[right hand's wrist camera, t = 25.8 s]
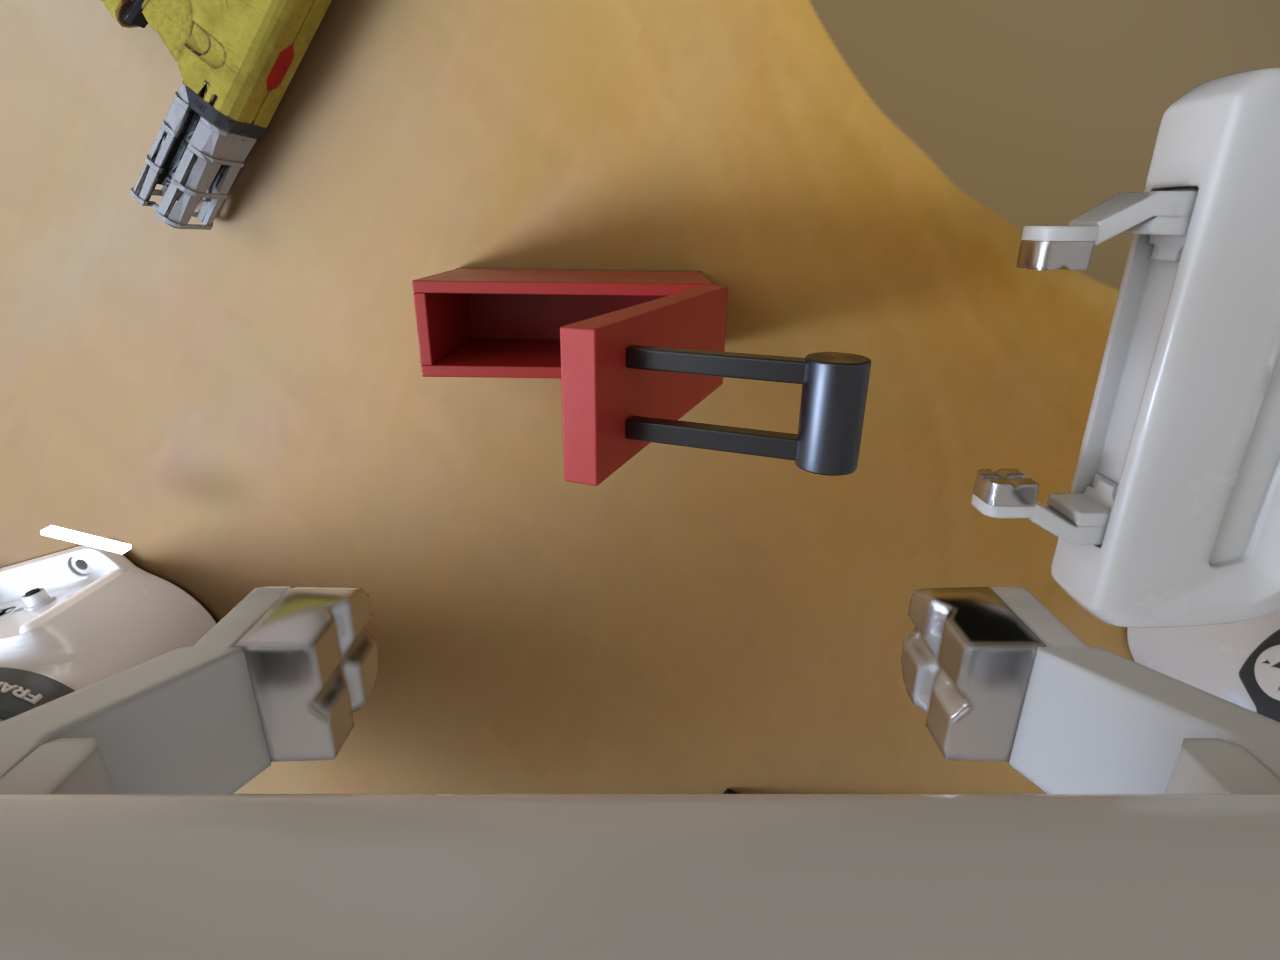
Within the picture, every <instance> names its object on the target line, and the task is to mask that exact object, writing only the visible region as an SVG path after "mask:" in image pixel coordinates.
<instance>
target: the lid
mask: <svg viewBox="0 0 1280 960" xmlns="http://www.w3.org/2000/svg"><path fill="white" fill-rule="evenodd" d="M727 295H728V286H716V285H705V286H701V287H698V288H694V289H691V290H687V291H684V292H680V293H677V294H673V295H670V296H666V297H663V298H659V299H656V300H652V301H649V302H645V303H642V304H638V305H635V306H631V307H628V308H624V309H621V310H617V311H614V312H610V313H607V314H603V315H600V316H596V317H593V318H589V319H586V320H582V321H579V322H575V323H572V324H568V325H565V326H562V327H560V349H561V383H562V417H563V451H564V480H565V481H568V482H575V483H581V484H588V485H594V486H597V485H599V484H600V483H601V482H602V481H604V480H605V479H606V478H607V477H608V476H610V475H611V474H612V473H613V472H615V471H616V470H617V469H618V468H620V467H621V466H622V465H623V464H624V463H626V462H627V461H628V460H629V459H631V458H632V457H633V456H634V455H635V454H637V453H638V452H639V451H640V450H642V449H643V448H644V447H645V446H647V445H648V444H649V443H650V442H656V443H664V444H671V445H679V446H687V447H695V448H703V449H710V450H718V451H726V452H734V453H742V454H750V455H757V456H765V457H773V458H781V459H789V460H795V463H796V465H797V466H798V467H799V468H801V469H803V470H805V471H808V472H811V473H815V474H821V475H833V476H834V475H846V474H850V473H853V472H854V471H855V470H856V469H857V464H858V457H859V449H860V442H861V434H862V427H863V420H864V412H865V405H866V397H867V390H868V383H869V375H870V368H871V360H870V359H869V358H867V357H864V356H860V355H856V354H849V353H837V352H821V353H813V354H809V355H807V356H806V358H794V357H781V356H769V355H756V354H743V353H730V352H724V348H725V330H726V313H727ZM723 377H731V378H742V379H753V380H764V381H775V382H786V383H797V384H803V387H802V397H801V407H800V417H799V427H798V434H789V433H781V432H772V431H763V430H755V429H746V428H737V427H729V426H720V425H711V424H703V423H694V422H685V421H677V420H678V419H680V418H681V417H682V416H683V415H685V414H686V413H687V412H688V411H689V410H691V409H692V408H693V407H694V406H696V405H697V404H698V403H699V402H701V401H702V400H703V399H704V398H705V397H707V396H708V395H709V394H710V393H712V392H713V391H714V390H715V389H716V388H718V387H719V386H720V385H721V384H722V383H723Z"/></svg>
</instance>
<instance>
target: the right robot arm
mask: <svg viewBox="0 0 1280 960" xmlns="http://www.w3.org/2000/svg"><path fill="white" fill-rule="evenodd" d="M41 535H45V536H49V537H53V538H57V539H61V540H65V541H69V542H73V543H77V544H82V545H81V546H77V547H74V548H70V549H67V550H63V551H60V552H56V553H52V554H49V555H45V556H42V557H38V558H35V559H31V560H28V561H24V562H21V563H17V564H14V565H10V566H7V567H3V568H0V960H1280V722H1277V721H1275V720H1272V719H1270V718H1268V717H1265V716H1263V715H1260V714H1258V713H1256V712H1253V711H1251V710H1249V709H1246V708H1244V707H1241V706H1239V705H1237V704H1234V703H1232V702H1229V701H1227V700H1225V699H1222V698H1220V697H1217V696H1215V695H1213V694H1210V693H1208V692H1206V691H1203V690H1201V689H1198V688H1196V687H1194V686H1191V685H1189V684H1186V683H1184V682H1182V681H1179V680H1177V679H1174V678H1172V677H1170V676H1167V675H1165V674H1163V673H1160V672H1158V671H1155V670H1153V669H1151V668H1148V667H1146V666H1143V665H1141V664H1139V663H1136V662H1134V661H1132V660H1129V659H1127V658H1124V657H1122V656H1120V655H1117V654H1115V653H1112V652H1110V651H1108V650H1105V649H1103V648H1100V647H1088V646H1086V645H1085V644H1084V643H1083V642H1082V641H1081V640H1080V639H1079V638H1078V637H1077V636H1076V635H1075V634H1074V633H1073V632H1072V631H1071V630H1069V629H1068V628H1067V627H1066V626H1065V625H1064V624H1063V623H1062V622H1061V621H1060V620H1059V619H1058V618H1057V617H1056V616H1055V615H1054V614H1052V613H1051V612H1050V611H1049V610H1048V609H1047V608H1046V607H1045V606H1044V605H1043V604H1042V603H1041V602H1040V601H1039V600H1038V599H1037V598H1035V597H1034V596H1033V595H1032V594H1031V593H1030V592H1029V591H1028V590H1027V589H1025V588H1022V587H1019V586H1006V587H965V588H924V589H916V590H915V591H914V593H913V595H912V598H911V600H910V605H909V611H908V616H909V617H910V619H911V620H912V622H913V623H914V625H915V626H916V628H915V629H914V630H913V631H912V632H911V633H910V634H909V635H908V636H907V637H906V638H905V639H904V642H903V649H902V657H901V663H902V674H903V680H904V683H905V687H906V690H907V692H908V694H909V696H910V698H911V700H912V702H913V703H914V704H915V705H916V706H918V707H920V708H921V709H923V710H924V711H926V712H927V713H928V716H927V722H926V726H927V728H928V730H929V732H930V733H931V735H932V737H933V739H934V740H935V742H936V744H937V745H938V747H939V749H940V751H941V752H942V754H943V756H944V758H945V759H946V760H972V761H1009V765H1010V766H1012V767H1013V768H1014V769H1016V770H1017V771H1018V772H1020V773H1021V774H1022V775H1024V776H1025V777H1026V778H1027V779H1029V780H1030V781H1031V782H1033V783H1034V784H1035V785H1037V786H1038V787H1039V788H1041V789H1042V790H1043V791H1045V792H1046V793H1047V794H233V793H234V792H236V791H237V790H238V789H240V788H241V787H242V786H244V785H245V784H246V783H248V782H249V781H250V780H251V779H253V778H254V777H255V776H257V775H258V774H259V773H261V772H262V771H263V770H265V769H266V768H267V767H269V766H270V765H271V761H307V760H334V759H335V758H336V756H337V754H338V752H339V751H340V749H341V747H342V746H343V744H344V742H345V740H346V739H347V737H348V735H349V733H350V732H351V730H352V728H353V726H354V722H353V716H352V713H353V712H354V711H356V710H357V709H359V708H360V707H362V706H364V705H365V704H366V703H367V702H368V700H369V698H370V696H371V694H372V692H373V690H374V687H375V683H376V678H377V674H378V648H377V641H376V639H375V638H374V637H373V636H372V635H371V634H370V633H369V632H368V631H367V630H366V629H365V628H364V626H365V625H366V623H367V622H368V620H369V619H370V617H371V615H372V611H371V607H370V602H369V597H368V594H367V593H366V592H365V591H364V590H363V589H362V588H330V587H293V586H280V587H259V588H254V589H253V590H252V591H251V592H250V593H249V594H248V595H247V596H246V597H245V598H244V599H243V600H242V601H240V602H239V603H238V604H237V605H236V606H235V607H234V608H233V609H232V610H231V611H230V612H229V613H228V614H227V615H226V616H224V617H223V618H222V619H221V620H220V621H219V622H218V623H216V622H215V620H214V619H213V617H212V616H211V615H210V614H209V613H208V611H207V610H206V609H205V608H204V607H203V606H202V605H201V604H200V603H199V602H198V601H197V600H196V599H194V598H193V597H192V596H191V595H189V594H188V593H187V592H185V591H184V590H182V589H181V588H179V587H177V586H176V585H174V584H172V583H170V582H168V581H166V580H164V579H162V578H160V577H157V576H155V575H153V574H150V573H148V572H146V571H144V570H142V569H140V568H138V567H137V566H135V565H134V564H133V563H132V562H131V561H130V560H128V559H127V558H126V557H125V556H124V555H123V554H124V553H125V552H127V551H129V550H130V549H131V548H132V545H131V544H127V543H122V542H118V541H114V540H110V539H106V538H102V537H98V536H94V535H90V534H86V533H82V532H78V531H73V530H69V529H65V528H61V527H57V526H53V525H50V526H48V527H46V528H45V529H43V530H41ZM83 560H84V561H85V562H86V563H87V564H86V563H85V562H84V561H83Z"/></svg>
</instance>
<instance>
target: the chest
mask: <svg viewBox="0 0 1280 960" xmlns="http://www.w3.org/2000/svg"><path fill="white" fill-rule="evenodd" d="M412 283H413V292H414V303H415V313H416V322H417V332H418V342H419V351H420V361H421V370H422V376H423V377H502V378H561V349H560V327H562V326H565V325H568V324H572V323H575V322H579V321H582V320H586V319H589V318H593V317H596V316H600V315H603V314H607V313H610V312H614V311H617V310H621V309H624V308H628V307H631V306H635V305H638V304H642V303H645V302H649V301H652V300H656V299H659V298H663V297H666V296H670V295H673V294H677V293H680V292H684V291H687V290H691V289H694V288H698V287H701V286H705V285H715V284H713V283H712V282H711V281H710V280H709V279H708V278H706V277H705V276H704V275H703V274H702V273H701V272H700V271H662V270H585V269H507V268H457V269H455V270H451V271H447V272H443V273H439V274H436V275H432V276H428V277H424V278H421V279H417V280H413V281H412Z"/></svg>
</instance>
